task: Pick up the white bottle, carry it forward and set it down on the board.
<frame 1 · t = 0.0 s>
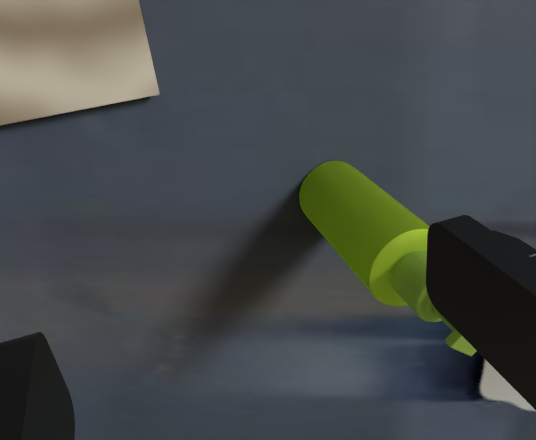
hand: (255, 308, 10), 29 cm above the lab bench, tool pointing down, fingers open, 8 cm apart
soap dispenser: (332, 186, 45), on the lab bench
board: (42, 15, 32), on the lab bench
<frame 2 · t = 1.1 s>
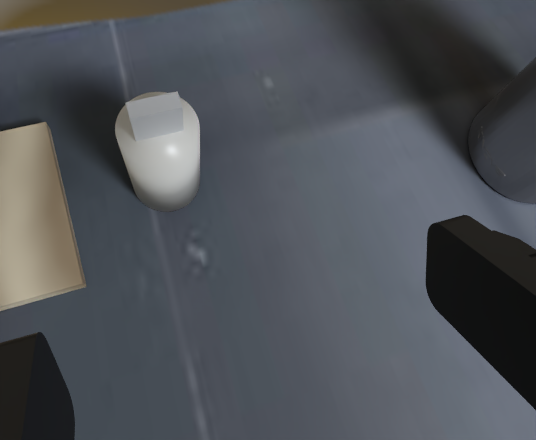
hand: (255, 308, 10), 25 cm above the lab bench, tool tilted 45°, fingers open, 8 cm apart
white bottle: (166, 180, 37), on the lab bench
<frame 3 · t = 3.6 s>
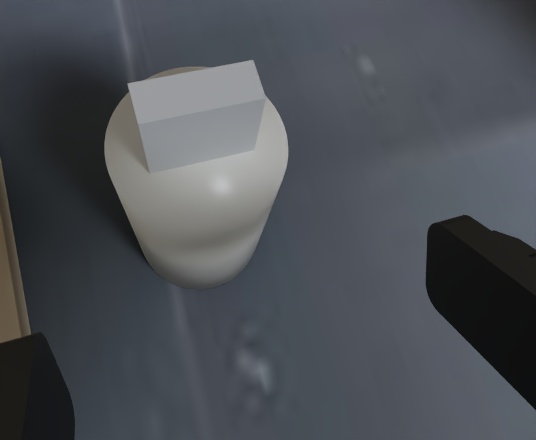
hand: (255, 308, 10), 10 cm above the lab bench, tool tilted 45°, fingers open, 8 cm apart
white bottle: (199, 231, 21), on the lab bench
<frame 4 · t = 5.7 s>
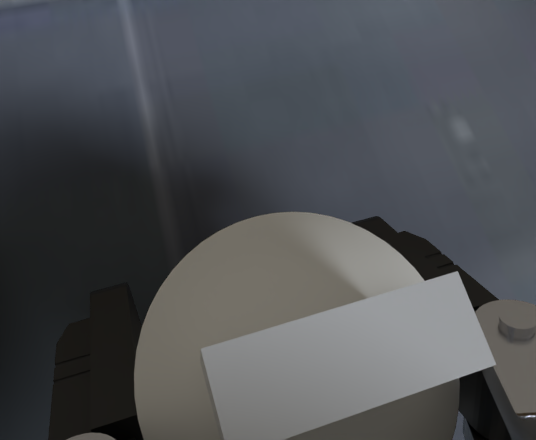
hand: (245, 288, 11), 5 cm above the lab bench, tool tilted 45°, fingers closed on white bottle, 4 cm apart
white bottle: (250, 378, 15), on the lab bench, touching gripper
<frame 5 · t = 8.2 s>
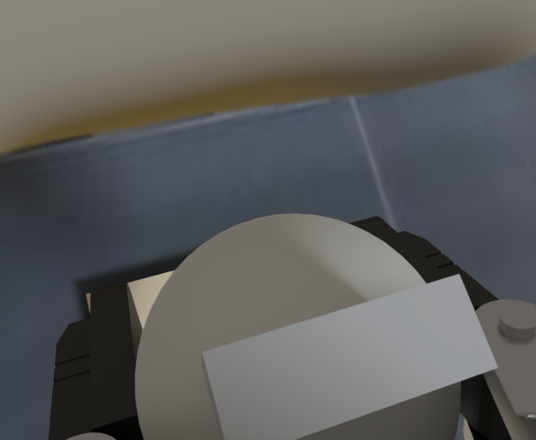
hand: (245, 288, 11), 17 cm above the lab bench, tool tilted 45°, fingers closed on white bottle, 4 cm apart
white bottle: (251, 379, 15), point 13 cm above the lab bench, touching gripper
board: (228, 375, 27), on the lab bench
when the fingers open (6 cm above the lab bench, at t = 10.7 s): white bottle stays where it is, resting on board.
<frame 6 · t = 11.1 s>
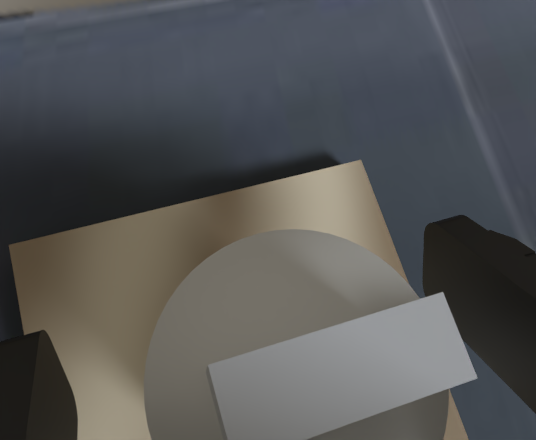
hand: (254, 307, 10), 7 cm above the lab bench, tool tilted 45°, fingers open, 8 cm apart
white bottle: (252, 381, 15), point 1 cm above the lab bench, touching board
board: (245, 379, 17), on the lab bench
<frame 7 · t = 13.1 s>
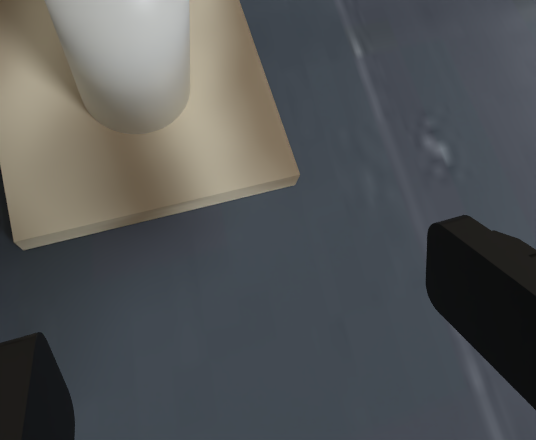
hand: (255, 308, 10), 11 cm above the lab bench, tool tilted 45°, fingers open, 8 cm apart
white bottle: (136, 86, 23), point 1 cm above the lab bench, touching board
board: (136, 99, 24), on the lab bench
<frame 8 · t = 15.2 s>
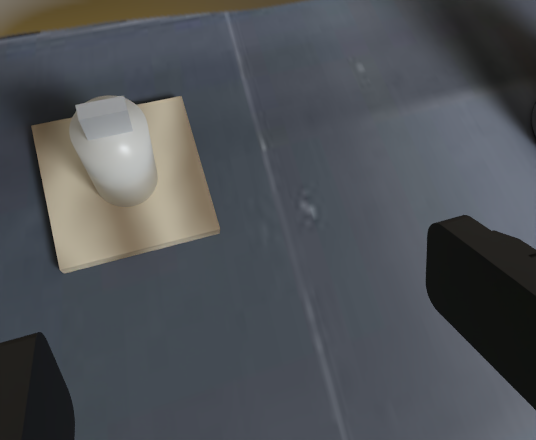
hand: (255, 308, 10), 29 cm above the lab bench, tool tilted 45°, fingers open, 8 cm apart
white bottle: (126, 177, 40), point 1 cm above the lab bench, touching board
board: (126, 182, 41), on the lab bench
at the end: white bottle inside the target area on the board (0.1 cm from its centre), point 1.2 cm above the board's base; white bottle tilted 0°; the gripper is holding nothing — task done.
